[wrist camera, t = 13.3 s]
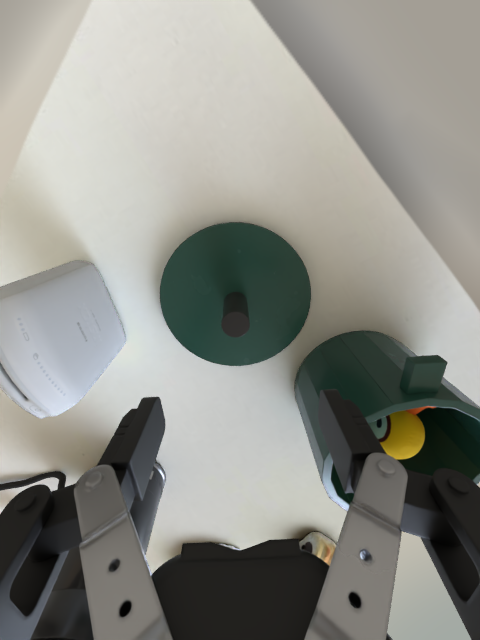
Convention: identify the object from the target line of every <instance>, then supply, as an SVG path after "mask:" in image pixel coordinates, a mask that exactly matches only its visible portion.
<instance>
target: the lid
mask: <svg viewBox="0 0 480 640" xmlns="http://www.w3.org/2000/svg"><path fill="white" fill-rule="evenodd" d="M310 300H311V288H310V281H309V277H308V274H307V270H306V268H305V266H304V264H303V261H302V260H301V258H300V257H299V255H298V254H297V252H296V251H295V250H294V249H293V248H292V246H291V245H290V244H289V243H287V242H286V241H285V240H284V239H283V238H282V237H280V236H278V235H277V234H275V233H274V232H272V231H270V230H268V229H266V228H263V227H261V226H257V225H254V224H249V223H242V222H229V223H221V224H217V225H213V226H210V227H207V228H205V229H203V230H200V231H198V232H197V233H195V234H194V235H192V236H190V237H189V238H188V239H187V240H185V241H184V242H183V243H182V244H181V245H180V246H179V247H178V248H177V249H176V250H175V252H174V253H173V255H172V256H171V258H170V259H169V261H168V263H167V265H166V267H165V269H164V272H163V276H162V279H161V286H160V302H161V308H162V312H163V316H164V318H165V321H166V323H167V325H168V327H169V329H170V330H171V332H172V334H173V335H174V336H175V338H176V339H177V340H178V341H179V342H180V343H181V344H182V345H183V346H184V347H185V348H186V349H188V350H189V351H190V352H192V353H193V354H195V355H197V356H198V357H200V358H202V359H205V360H207V361H210V362H213V363H217V364H221V365H229V366H242V365H250V364H254V363H258V362H261V361H264V360H267V359H269V358H271V357H273V356H275V355H276V354H278V353H279V352H281V351H282V350H283V349H285V348H286V347H287V346H288V345H289V344H290V343H291V342H292V341H293V340H294V339H295V337H296V336H297V335H298V334H299V332H300V330H301V329H302V327H303V325H304V323H305V320H306V318H307V315H308V312H309V308H310Z"/></svg>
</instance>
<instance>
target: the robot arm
mask: <svg viewBox="0 0 480 640" xmlns="http://www.w3.org/2000/svg"><path fill="white" fill-rule="evenodd" d="M318 420H319V425H320V428H321V431H322V433H323V436H324V439H325V441H326V444H327V447H328V449H329V452H330V455H331V457H332V460H333V463H334V465H335V468H336V471H337V473H338V476H339V479H340V481H341V484H342V487H343V489H344V492H345V493H354V498H353V500H352V501H351V503H350V506H349V509H348V512H347V515H346V518H345V521H344V524H343V527H342V530H341V533H340V536H339V539H338V542H337V545H336V548H335V551H334V554H333V557H332V560H331V563H330V566H329V565H328V564H327V563H326V562H324V561H323V560H322V559H320V558H319V557H317V556H316V555H314V554H312V553H310V552H308V551H305V550H302V549H300V544H299V539H281V540H268V541H266V542H263V543H260V544H258V545H255V546H252V547H250V548H247V549H244V550H236V549H232V548H229V547H225V546H222V545H219V544H215V543H212V542H207V543H183V545H182V551H181V554H180V555H177V556H175V557H173V558H172V559H170V560H168V561H167V562H165V563H164V564H163V565H161V566H160V567H159V568H158V569H157V570H156V571H155V572H154V573H153V574H152V573H151V570H150V568H149V565H148V562H147V559H146V557H145V555H146V551H147V547H148V543H149V540H150V536H151V532H152V528H153V524H154V520H155V517H156V513H157V509H158V505H159V501H160V498H161V495H162V491H163V488H164V485H165V481H166V476H165V472H164V470H163V469H162V467H161V466H160V465H159V464H158V463H156V462H155V460H156V457H157V454H158V450H159V447H160V444H161V441H162V438H163V435H164V431H165V418H164V414H163V409H162V405H161V400H160V398H159V397H146V398H143V399H142V400H141V402H140V404H139V406H138V408H137V409H131V410H130V411H129V412H128V413H127V414H126V415H125V416H124V417H123V419H122V420H121V422H120V424H119V426H118V428H117V430H116V432H115V433H114V436H113V437H112V439H111V441H110V443H109V445H108V446H107V448H106V450H105V452H104V454H103V456H102V458H101V459H100V461H99V463H98V465H97V466H96V467H94V468H91V469H90V470H88V471H87V472H86V473H84V474H83V475H82V476H81V477H80V479H79V480H78V481H77V483H76V484H73V485H70V486H67V487H65V482H66V476H65V474H63V473H62V472H59V471H53V472H48V473H44V474H40V475H37V476H35V477H32V478H29V479H26V480H22V481H16V482H10V483H5V484H0V490H5V489H11V488H18V487H23V486H26V485H29V484H32V483H35V482H37V481H40V480H43V479H46V478H50V477H55V478H58V479H59V484H58V490H55V491H52V492H51V491H50V489H49V487H48V486H46V485H35V486H32V487H29V488H27V489H25V490H24V491H22V492H20V493H19V494H18V495H16V496H15V497H14V498H13V499H12V500H11V501H10V502H9V503H8V504H7V506H6V507H5V508H4V510H3V511H2V513H1V514H0V640H393V639H392V638H391V637H390V636H389V635H388V634H387V629H388V622H389V615H390V608H391V601H392V594H393V588H394V581H395V574H396V568H397V561H398V554H399V547H400V541H401V531H403V532H406V533H409V534H413V535H416V536H419V537H421V539H422V541H423V543H424V545H425V547H426V549H427V551H428V553H429V555H430V557H431V559H432V561H433V563H434V565H435V567H436V569H437V571H438V573H439V575H440V577H441V579H442V581H443V583H444V585H445V587H446V589H447V591H448V593H449V595H450V597H451V599H452V601H453V603H454V605H455V607H456V609H457V611H458V613H459V615H460V617H461V619H462V621H463V623H464V625H465V627H466V629H467V631H468V633H469V635H470V637H471V639H472V640H480V488H479V487H478V486H477V484H476V483H475V482H473V481H472V480H471V479H470V478H469V477H467V476H465V475H464V474H462V473H460V472H458V471H456V470H452V469H448V468H440V469H437V470H436V471H435V472H434V474H433V476H431V475H427V474H422V473H418V472H414V471H411V470H408V469H405V468H404V467H403V465H402V464H401V463H400V462H399V461H397V460H396V459H395V458H393V457H391V456H389V455H387V454H386V452H385V450H384V449H383V447H382V446H381V444H380V442H379V441H378V439H377V437H376V436H375V434H374V432H373V431H372V429H371V427H370V426H369V425H368V422H367V421H366V419H365V418H364V416H363V414H362V412H361V411H360V409H359V407H358V406H357V405H355V404H354V403H353V402H352V401H351V400H349V399H347V400H343V399H342V397H341V395H340V393H339V391H338V390H337V389H328V390H321V391H320V398H319V408H318Z"/></svg>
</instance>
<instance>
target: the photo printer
mask: <svg viewBox="0 0 480 640" xmlns="http://www.w3.org/2000/svg"><path fill="white" fill-rule="evenodd" d="M125 343H126V337H125V333H124V330H123V327H122V324H121V322H120V319H119V317H118V314H117V312H116V309H115V307H114V305H113V302H112V300H111V298H110V295H109V293H108V291H107V289H106V286H105V284H104V282H103V280H102V278H101V276H100V274H99V272H98V270H97V268H96V267H95V265H94V264H92V263H88V262H86V261H80V260H78V261H72V262H69V263H66V264H63V265H60V266H58V267H55V268H52V269H49V270H46V271H44V272H41V273H38V274H35V275H32V276H29V277H27V278H24V279H21V280H18V281H15V282H13V283H10V284H7V285H4V286H1V287H0V388H1V389H2V390H3V391H4V392H5V393H6V394H7V395H8V396H9V397H10V398H11V399H12V400H13V401H14V402H15V403H16V404H18V405H19V406H20V407H21V408H23V409H24V410H26V411H27V412H29V413H31V414H32V415H34V416H36V417H38V418H40V419H42V418H45V417H48V416H57V415H59V414H61V413H63V412H65V411H66V410H68V409H69V408H71V407H72V406H74V405H75V404H76V403H78V402H79V401H80V400H81V399H82V398H83V397H84V396H85V394H86V393H87V392H88V391H89V389H90V388H91V387H92V385H93V384H94V383H95V382H96V381H97V379H98V378H99V377H100V376H101V374H102V373H103V372H104V370H105V369H106V368H107V367H108V365H109V364H110V363H111V362H112V360H113V359H114V358H115V357H116V355H117V354H118V353H119V351H120V350H121V349H122V347H123V346H124V345H125Z"/></svg>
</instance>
